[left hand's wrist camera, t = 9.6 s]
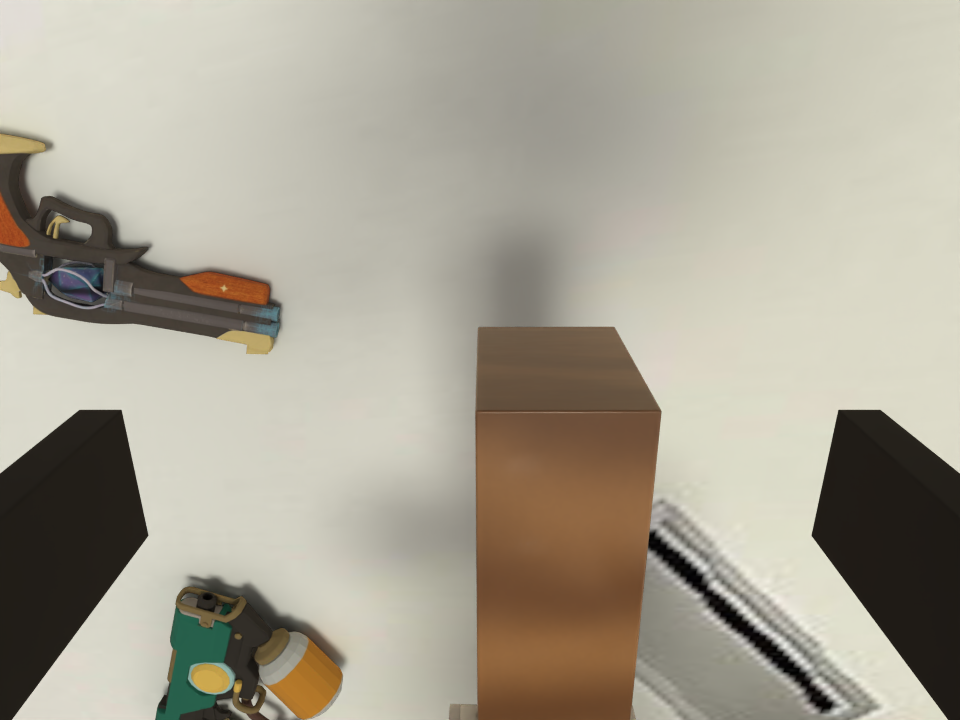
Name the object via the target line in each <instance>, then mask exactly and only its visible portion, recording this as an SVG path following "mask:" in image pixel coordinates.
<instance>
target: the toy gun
mask: <svg viewBox="0 0 960 720" xmlns="http://www.w3.org/2000/svg"><path fill="white" fill-rule="evenodd" d="M45 150H46V148H45V144H44V143H41V142H39V141H35V140H31V139H27V138H22V137H17V136H11V135H6V134H0V262H1V263H2V264H3V265H4V266H5V267H6V268H7V269H8V270H9V271H8V274H7V279H6V280H5V281H0V290H2V291H5V292H9V293H11V294H12V295H13V296H14V297H16V298H21V297H22V294H21V292H22V293H24V294H25V295H26V297H27V298H28V300H29V301H30V302H31V304H32V305H33V306H34V308H33V314H43V315H51V316H55V317H61V318H67V319H73V320H78V321H84V322H91V323H100V324H141V325H146V326H152V327H158V328H164V329H170V330H176V331H181V332H187V333H193V334H199V335H205V336H210V337H215V338H216V339H221V340H226V341H231V342H237V343H242V344H247V353H246V354H268V352H270V351H271V350H272V349H273V343H274V338H276V337H277V335H278V331H279V322H277V321H278V318H279V313H280V307H275V304H272V303H269V294H270V288H269V285H268V284H264V283H260V282H256V281H252V280H247V279H243V278H238V277H234V276H229V275H224V274H220V273H215V272H203V273H198V274H194V275H189V276H184V277H178V276H173V275H168V274H162V273H157V272H154V271H150V270H147V269H144V268H142V267H140V266H138V265H136V264H134V263H133V262H132V261H134V260H136V259H138V258H139V257H141V256H142V255H143V254H144V253H145V252H146V251H147V250H148V247H142V248H135V249H119V248H115V247H114V246H113V244H112V227H111V225H110V223H109V221H108V219H107V218H106V217H105V216H103V215H101V214H96V213H91V212H87V211H83V210H80V209H77V208H75V207H72V206H70V205H68V204H66V203H64V202H62V201H60V200H58V199H57V198H55V197H52V196H45V197H42V198H41V201H40V206H39V209H38V212H37V214H36V216H35V217H34V218H33V219H32V218H31V216H30V214H29V213H28V211H27V208H26V206H25V204H24V201H23V199H22V196H21V194H20V191H19V187H18V179H19V173H20V169H21V165H22V162H23V160H24V159H25V158H26V157H27V156H28V155H30V154H31V153H40V152H44V151H45ZM51 210H53V211H55V212H58V213H60V214H62V215H64V216H66V217H68V218H70V219H73V220H76V221H79V222H83V223H87V224H89V225H91V227H92V235H91V237H90V238H89V239H88V240H87V241H86V242H85V243H82V242H77V241H71V240H66V239H60V238H58V234H59V226H60V224H61V223H68V222H70V221H69V220H68V219H67V218H65V217H64V216H61V215H59V216H57V217H55V218H54V219H53V221H52V222H51V223H50V224H49V226H48V229H47V232H46V231H45V227H46V218H47V216H48V214H49V213H50V212H51ZM55 222H56V224H55V228H54V234H53V236H52V235H51V229H52V226H53V224H54V223H55ZM53 257H56V258H62V259H67V260H73V262H69V263H65V264H62V265H61V266H59V267H58V268H55V269H52V267H53ZM91 263H100V264H104V269H103V268H99V267H95V266H94V265H93V264H91ZM71 264H87V265H89V266H79V267H64V266H67V265H71ZM52 284H53V285H54V286H55V287H56V288H57V289H58V290H59V291H60V292H62V293H63V294H65V295H66V296H68V297H70V298H73V299H78V300H83V301H88V302H94V301H96V300H98V299H100V298H102V297H105V298H107V299H106V301H105V303H103V304H98V305H88V304H82V303H76V302H72V301H69V300H66V299H63V298H61V297H58V296H57V295H55V294H54V293H52V291H51V287H52ZM107 292H108V295H107V294H106V293H107ZM274 321H275V322H274ZM273 337H274V338H273Z"/></svg>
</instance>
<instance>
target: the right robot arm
mask: <svg viewBox="0 0 960 720" xmlns="http://www.w3.org/2000/svg"><path fill="white" fill-rule="evenodd" d="M449 720H478V705H471V704H461V705H460V704H450V711H449ZM630 720H636V718H635V714H634V710H633V706H632V708H631V718H630Z"/></svg>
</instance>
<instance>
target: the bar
mask: <svg viewBox="0 0 960 720" xmlns="http://www.w3.org/2000/svg"><path fill="white" fill-rule="evenodd" d="M660 422H661V409H660V408H659V406H658V404H657V402H656V401H655V399H654V397H653V395H652V393H651V392H650V390H649V388H648V386H647V384H646V383H645V381H644V379H643V377H642V375H641V374H640V372H639V370H638V368H637V367H636V365H635V363H634V361H633V359H632V358H631V356H630V354H629V352H628V350H627V349H626V347H625V345H624V343H623V342H622V340H621V338H620V336H619V334H618V333H617V331H616V329H615V327H479V328H478V339H477V373H476V407H475V433H476V569H477V705H478V720H630V718H631V708H632V698H633V688H634V678H635V668H636V659H637V649H638V639H639V629H640V619H641V609H642V599H643V589H644V580H645V570H646V560H647V550H648V540H649V530H650V520H651V510H652V501H653V491H654V481H655V471H656V461H657V451H658V441H659V432H660Z"/></svg>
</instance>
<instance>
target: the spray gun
mask: <svg viewBox="0 0 960 720" xmlns="http://www.w3.org/2000/svg"><path fill="white" fill-rule="evenodd" d="M187 593H194V594H197V595H200V596H199V597H198V599H196V598H193V597H189V598H185V599H182V597H183V596H184V595H185V594H187ZM181 599H182V600H181ZM222 602H225V603H228V604H224V605H223V607H222V606H221V605H222ZM246 602H247V601H246V600H245V599H244V598H243V597H242V596H240V597H238V598H236V599H233V598H230V597H226V596H223V595H219V594H216V593H213V592H209V591H206V590H202V589H199V588H196V587H186V588H184V589H182V590H181V592H180V593H179V595H178V596H177V599H176V609H175V615H174V620H173V626H172V631H171V637H170V642H171V646H172V648H173V651H172V656H171V662H170V667H169V672H168V678H167V679H168V681H169V688H168V693H167V695H164V697H163V698H162V700H161V701H160V703H159V705H158V708H157V713H156V719H155V720H230V719H228V717H229V716H231V714H232V712H231V711H230V710H222V709H221V708H220V707H219V706H218V705H217V703H216V700H217V699H224V698H232V697H233V698H232V700H233V705H234V706H235V707H236V708H237V709H238V710H240V711H241V712H243V713H246V714H247V715H248V716H249V718H251V719H252V720H269V719H267V718H266V717H264V716H263V715H262V714H261V713H259V712H258V711H259V710H260V708H261V706H262V705H263V703H264V700H265V696H266V690H265V689H264V688H263V687H262V686H259V685H257V684H258V680H259V676H260V677H261V679H262V681H263V683H264V684H265V685H266V686H267V687H268V688H269V689H270V690H271V691H272V692H273V693H274V694H275V695H276V696H277V697H278V698H279V699H280V700H281V701H282V702H283V703H284V704H285V705H286V706H287V707H288V708H289V709H290V710H291V711H292V712H293V713H294V714H295V715H296V716H297V717H298V718H301V719H303V720H308V719H311V718H314V717H317V716H319V715H321V714H322V713H324V712H325V711H326V710H327V709H328V708H329V707H330V706H331V705H332V704H333V703H334V701H335V700H336V698H337V697H338V695H339V693H340V692H341V689H342V681H343V674H342V672H341V670H340V668H339V667H338V666H337V665H336V664H335V663H334V662H333V661H332V660H331V659H330V658H329V657H328V656H327V655H326V654H325V653H324V652H323V651H321V650H320V649H319V648H318V647H317V646H316V645H315V644H314V643H313V642H312V641H311V640H310V639H309V638H308V637H307V636H305V635H303V634H301V633H299V632H295V631H294V632H288V631H287V630H286V629H284V628H279V629H276V630H275V631H273V632H272V630H271V629H270V627H269V626H268V625H267V624H266V623H265V622H264V621H263V619H262V618H261V617H260V616H259V615H258V614H257V613H256V612H255V610H254V609H253V608H252V607H251V606H250V605H249V604H248V603H246ZM229 604H232V605H235V606H234V607H233V608H232V609H231V607H230V605H229ZM253 647H258V648H257V650H256V653H255V661H256V662H257V663H258V664H259V668H258V666H257V664H256V662H255V661H254V659H253V657H252V651H253ZM255 692H259V694H260V695H259V698H258V701H257V703H256V705H255V706H253V705H252V702H251V699H253V696H254V694H255ZM239 698H242V699H241V701H242V703H241V702H240V701H239Z"/></svg>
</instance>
